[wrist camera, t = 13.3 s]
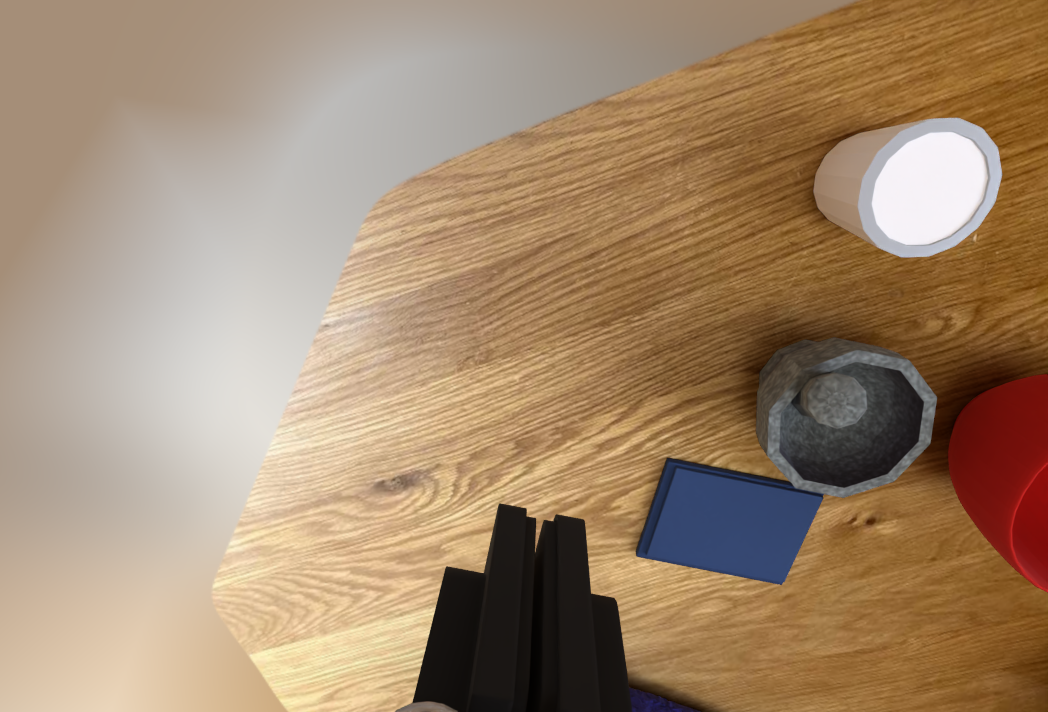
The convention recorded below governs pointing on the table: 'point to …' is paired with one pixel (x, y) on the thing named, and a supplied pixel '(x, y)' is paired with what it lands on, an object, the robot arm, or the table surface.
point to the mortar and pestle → (842, 415)
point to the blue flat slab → (727, 521)
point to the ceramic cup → (1007, 471)
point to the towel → (654, 703)
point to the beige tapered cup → (911, 185)
